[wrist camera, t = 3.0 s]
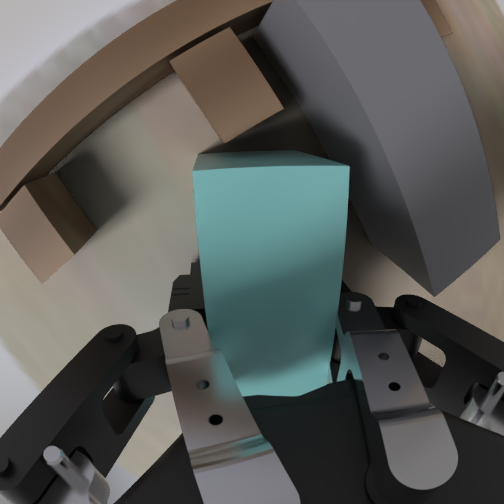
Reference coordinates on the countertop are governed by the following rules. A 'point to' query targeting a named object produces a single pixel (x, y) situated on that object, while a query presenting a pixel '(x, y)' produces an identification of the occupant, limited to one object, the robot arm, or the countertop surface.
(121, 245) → the countertop surface
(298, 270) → the teal plug
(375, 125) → the charcoal plug
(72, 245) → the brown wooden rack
